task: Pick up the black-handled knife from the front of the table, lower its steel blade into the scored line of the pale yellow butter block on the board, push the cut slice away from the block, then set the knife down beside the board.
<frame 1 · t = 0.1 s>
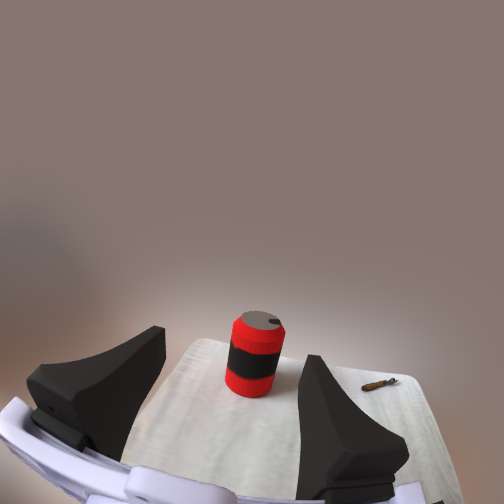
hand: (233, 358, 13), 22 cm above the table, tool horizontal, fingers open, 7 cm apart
soda can: (248, 383, 41), on the table
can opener: (393, 388, 40), point 1 cm above the table
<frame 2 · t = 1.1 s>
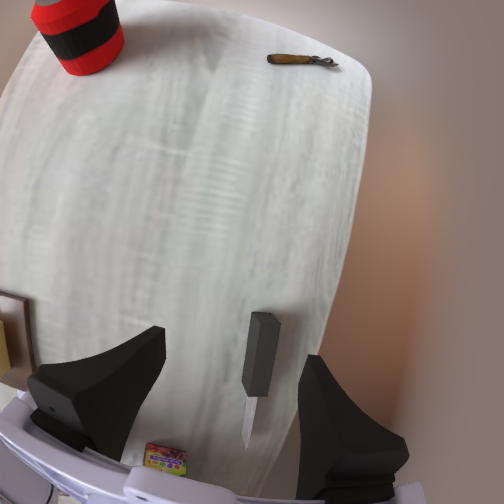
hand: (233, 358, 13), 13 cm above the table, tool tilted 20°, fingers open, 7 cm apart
soda can: (93, 52, 21), on the table
knife: (255, 348, 27), on the table
butter slice: (1, 343, 19), point 1 cm above the table, touching board
snack box: (155, 487, 26), on the table
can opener: (320, 74, 25), point 1 cm above the table
board: (2, 339, 20), on the table
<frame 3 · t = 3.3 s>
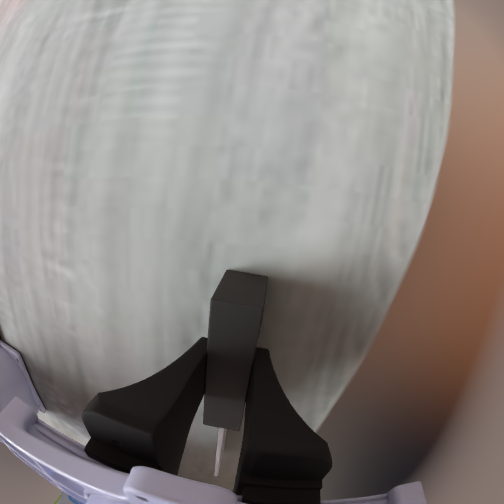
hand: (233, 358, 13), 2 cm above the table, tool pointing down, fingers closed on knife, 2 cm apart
knife: (237, 340, 14), on the table, touching gripper
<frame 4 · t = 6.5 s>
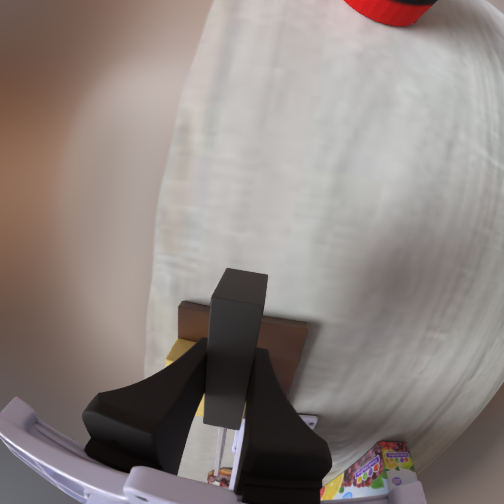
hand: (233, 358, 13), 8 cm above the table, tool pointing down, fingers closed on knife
pastry: (233, 477, 30), on the table
knife: (237, 339, 14), point 6 cm above the table, touching gripper
snack box: (349, 475, 28), on the table
board: (235, 369, 23), on the table
butter block: (199, 369, 22), point 1 cm above the table, touching board
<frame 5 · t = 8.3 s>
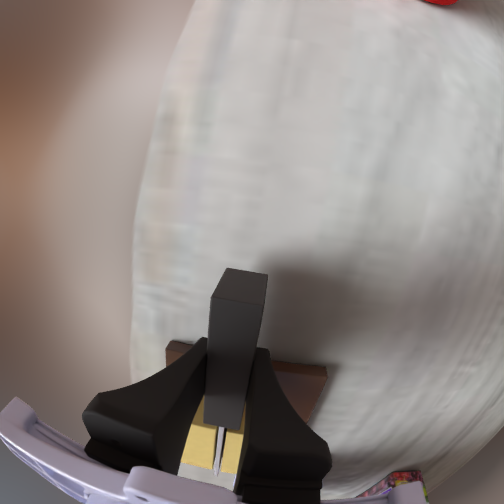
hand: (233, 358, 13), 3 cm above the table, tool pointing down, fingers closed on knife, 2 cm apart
knife: (237, 339, 14), point 1 cm above the table, touching gripper
butter slice: (242, 424, 17), point 1 cm above the table, touching board
snack box: (357, 501, 23), on the table
board: (237, 413, 18), on the table
butter block: (194, 415, 17), point 1 cm above the table, touching board
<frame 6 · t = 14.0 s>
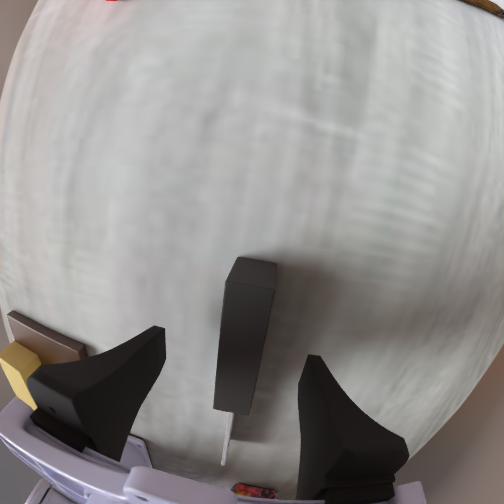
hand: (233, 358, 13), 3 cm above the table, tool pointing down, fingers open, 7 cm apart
knife: (246, 326, 15), on the table
board: (59, 375, 19), on the table
butter block: (34, 370, 19), point 1 cm above the table, touching board
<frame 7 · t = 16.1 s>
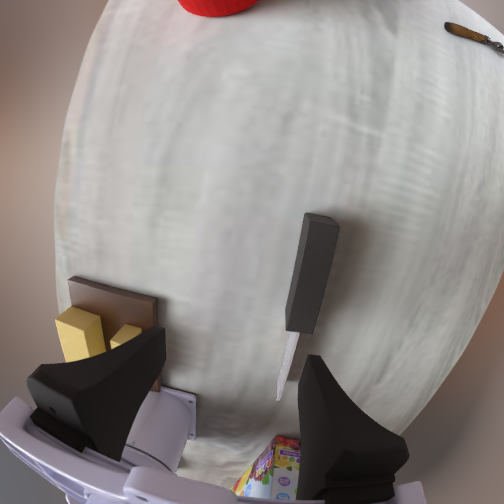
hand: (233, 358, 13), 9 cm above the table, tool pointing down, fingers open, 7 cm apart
knife: (307, 266, 21), on the table
butter slice: (136, 350, 24), point 1 cm above the table, touching board
snack box: (264, 469, 31), on the table
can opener: (496, 60, 12), point 1 cm above the table
board: (116, 337, 25), on the table
butter block: (89, 334, 24), point 1 cm above the table, touching board
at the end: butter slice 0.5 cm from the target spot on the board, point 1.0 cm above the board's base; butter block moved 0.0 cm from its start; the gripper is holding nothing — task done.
